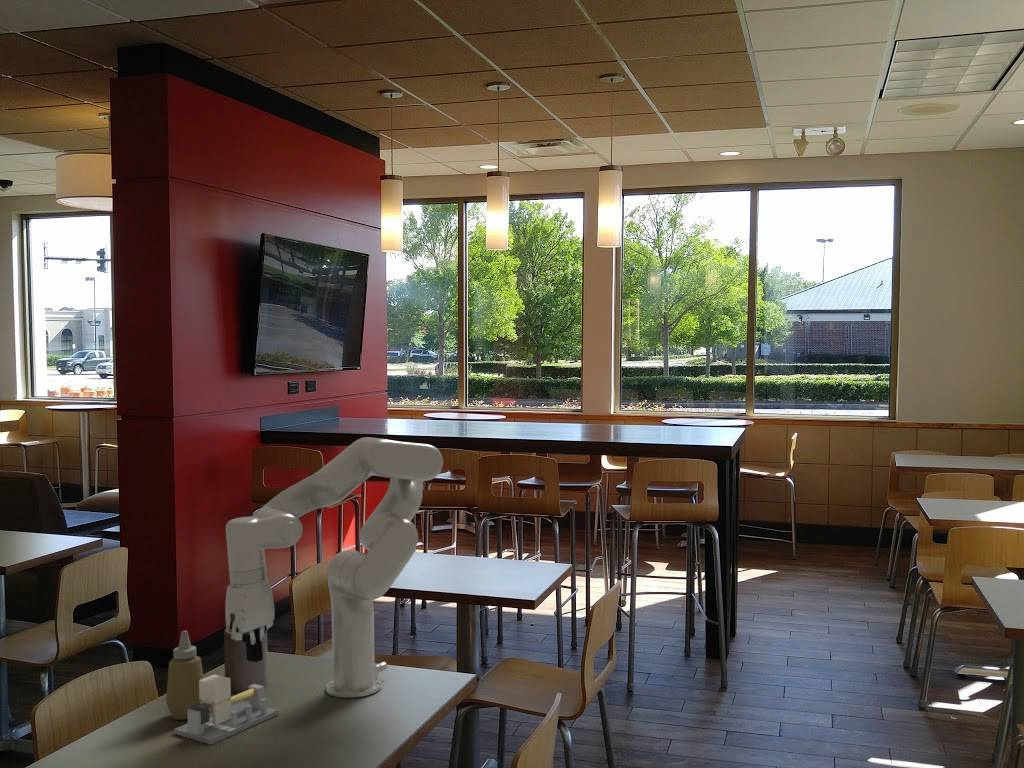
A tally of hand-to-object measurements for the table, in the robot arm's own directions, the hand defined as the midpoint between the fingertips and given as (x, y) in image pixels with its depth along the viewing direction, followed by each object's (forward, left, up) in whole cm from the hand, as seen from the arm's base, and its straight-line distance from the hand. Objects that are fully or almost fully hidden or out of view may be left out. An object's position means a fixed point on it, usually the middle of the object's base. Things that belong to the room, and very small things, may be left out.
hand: (255, 660), depth 198 cm
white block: (+10, -1, -9) cm, 14 cm away
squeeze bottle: (+8, -12, -12) cm, 19 cm away
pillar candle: (-11, -15, -12) cm, 21 cm away
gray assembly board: (+7, -1, -11) cm, 14 cm away
